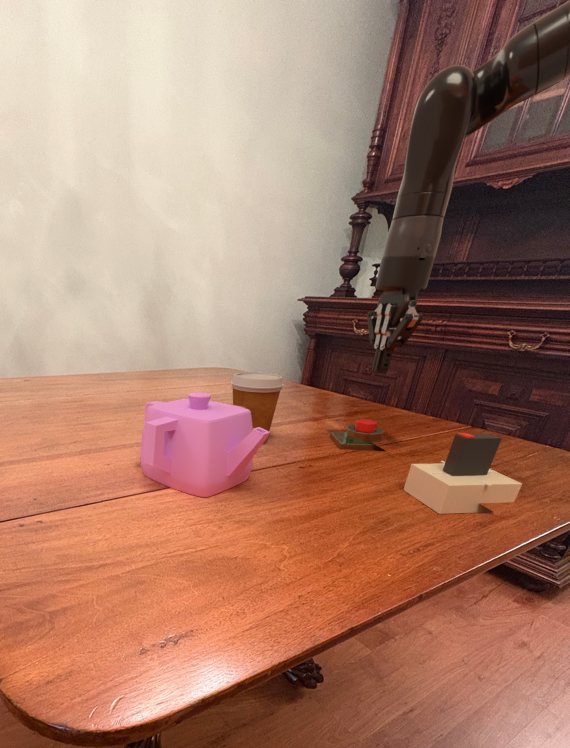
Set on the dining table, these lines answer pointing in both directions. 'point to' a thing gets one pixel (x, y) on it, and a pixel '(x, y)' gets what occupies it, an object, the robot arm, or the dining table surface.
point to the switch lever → (471, 454)
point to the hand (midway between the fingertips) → (379, 372)
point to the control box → (458, 489)
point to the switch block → (357, 439)
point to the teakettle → (198, 444)
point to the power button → (365, 425)
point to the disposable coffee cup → (257, 396)
